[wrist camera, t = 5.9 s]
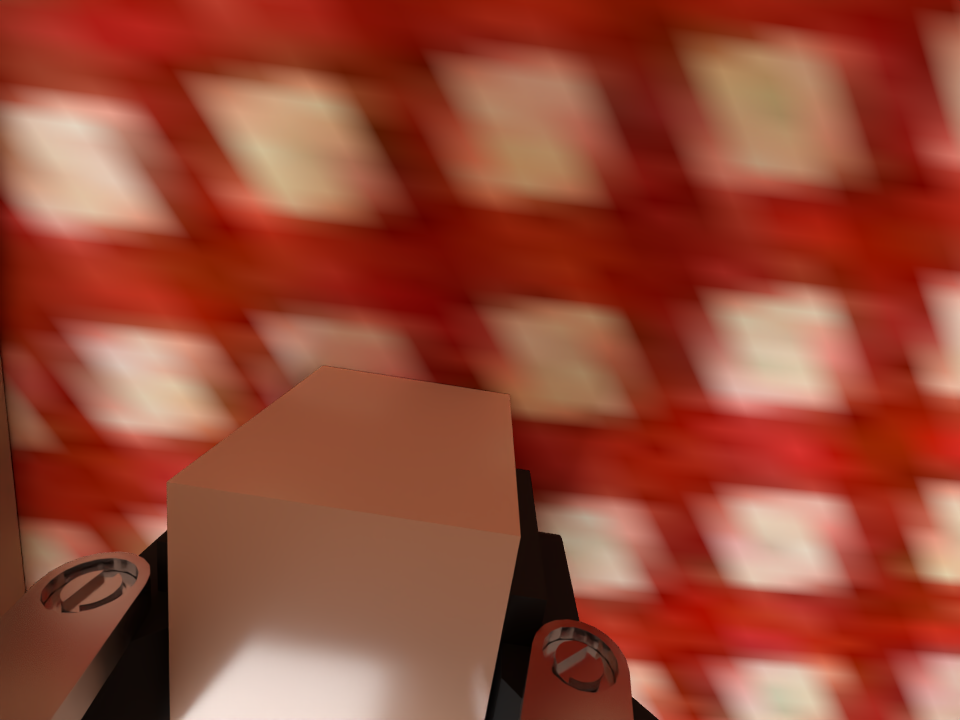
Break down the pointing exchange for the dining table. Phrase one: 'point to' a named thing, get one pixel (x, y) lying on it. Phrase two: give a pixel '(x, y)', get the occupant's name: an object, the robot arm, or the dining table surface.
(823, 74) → the dining table surface
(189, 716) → the clay strip
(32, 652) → the robot arm
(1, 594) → the rack
